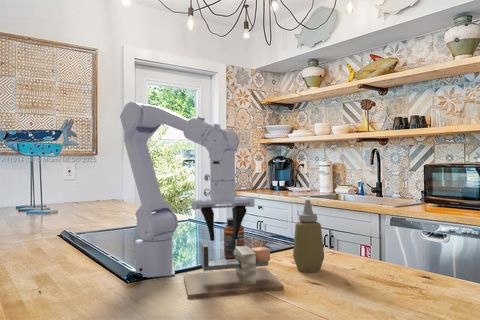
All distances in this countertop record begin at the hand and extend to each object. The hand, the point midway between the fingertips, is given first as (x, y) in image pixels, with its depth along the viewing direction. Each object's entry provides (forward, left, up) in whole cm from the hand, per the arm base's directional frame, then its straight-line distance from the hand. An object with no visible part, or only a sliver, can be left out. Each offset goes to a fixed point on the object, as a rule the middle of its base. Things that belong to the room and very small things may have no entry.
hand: (223, 239), depth 86 cm
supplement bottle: (+7, +23, -11) cm, 26 cm away
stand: (+2, 0, -10) cm, 11 cm away
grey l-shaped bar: (+2, 0, -6) cm, 7 cm away
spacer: (+9, 0, -5) cm, 10 cm away
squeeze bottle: (+23, +5, -11) cm, 26 cm away
